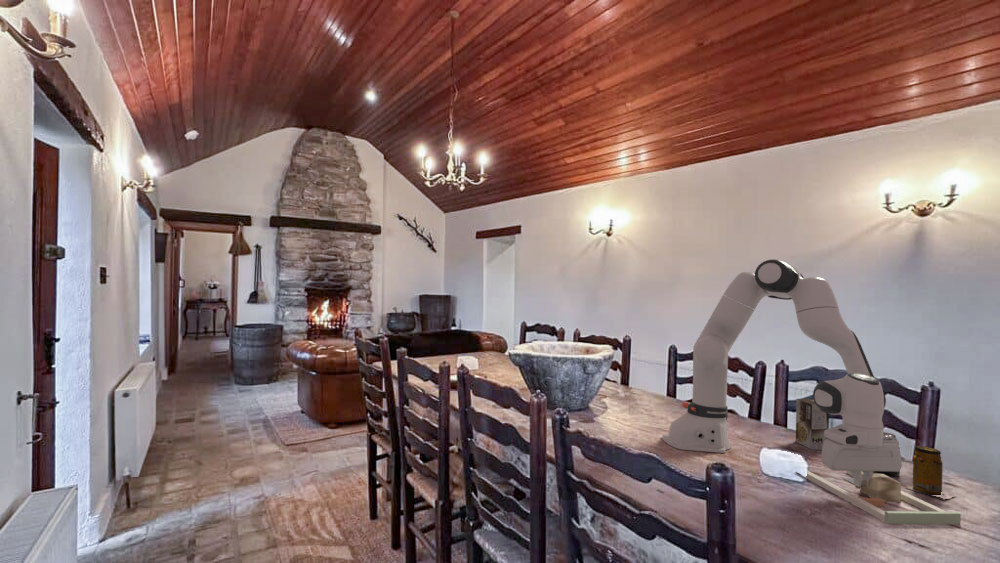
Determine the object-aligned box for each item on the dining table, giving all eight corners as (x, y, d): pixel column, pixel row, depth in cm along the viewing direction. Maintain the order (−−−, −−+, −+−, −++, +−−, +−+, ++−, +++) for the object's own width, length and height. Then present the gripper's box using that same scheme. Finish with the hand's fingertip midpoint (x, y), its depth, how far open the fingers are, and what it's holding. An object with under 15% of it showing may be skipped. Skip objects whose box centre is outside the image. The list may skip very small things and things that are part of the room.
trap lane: (888, 523, 108) (888, 513, 108) (795, 472, 138) (795, 464, 138) (960, 524, 109) (960, 513, 109) (852, 473, 140) (853, 465, 140)
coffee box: (829, 450, 160) (830, 404, 161) (810, 449, 160) (812, 403, 161) (812, 442, 169) (813, 398, 170) (794, 441, 170) (795, 397, 170)
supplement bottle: (895, 471, 143) (895, 432, 143) (903, 478, 137) (904, 438, 137) (867, 466, 146) (868, 429, 146) (874, 474, 140) (875, 434, 140)
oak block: (877, 500, 120) (877, 481, 121) (860, 490, 126) (860, 472, 127) (900, 502, 120) (901, 483, 120) (882, 492, 126) (883, 474, 126)
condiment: (918, 484, 133) (918, 443, 133) (957, 497, 125) (957, 453, 125) (905, 488, 130) (906, 446, 130) (944, 501, 122) (945, 456, 122)
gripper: (887, 432, 128) (886, 481, 127) (818, 430, 126) (817, 480, 126) (909, 439, 121) (908, 491, 121) (836, 437, 120) (835, 490, 120)
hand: (861, 486), depth 124 cm, fingers closed
